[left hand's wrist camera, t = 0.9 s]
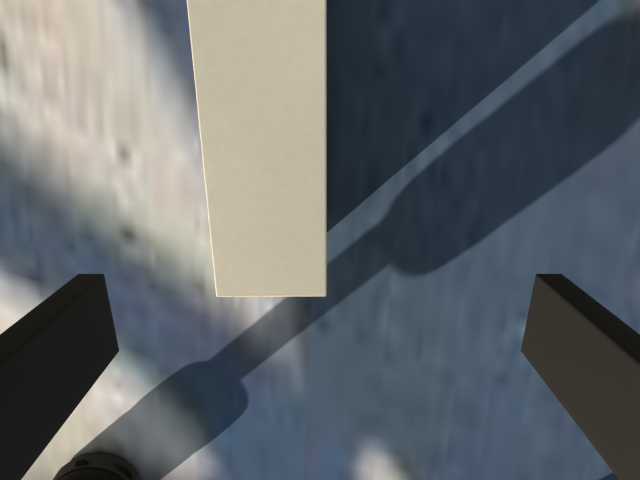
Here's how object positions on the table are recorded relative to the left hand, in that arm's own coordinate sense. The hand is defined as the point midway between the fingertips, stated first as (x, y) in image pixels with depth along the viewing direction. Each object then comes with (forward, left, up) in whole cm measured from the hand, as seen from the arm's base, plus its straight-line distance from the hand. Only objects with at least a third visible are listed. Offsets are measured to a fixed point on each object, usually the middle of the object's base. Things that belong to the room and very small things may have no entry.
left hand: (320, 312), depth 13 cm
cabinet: (+3, +3, -21) cm, 21 cm away
